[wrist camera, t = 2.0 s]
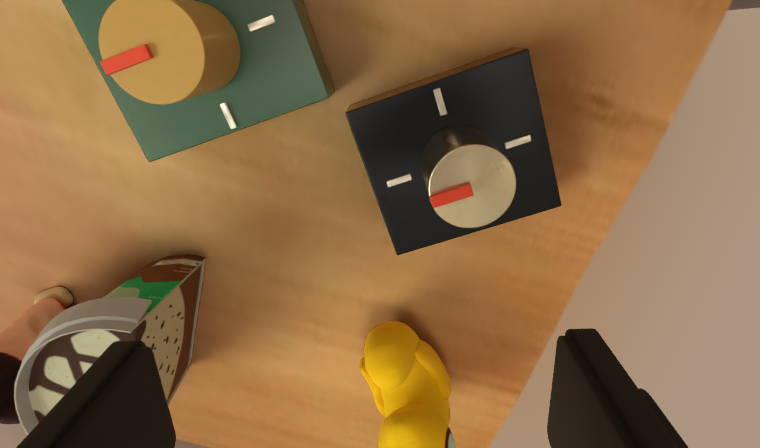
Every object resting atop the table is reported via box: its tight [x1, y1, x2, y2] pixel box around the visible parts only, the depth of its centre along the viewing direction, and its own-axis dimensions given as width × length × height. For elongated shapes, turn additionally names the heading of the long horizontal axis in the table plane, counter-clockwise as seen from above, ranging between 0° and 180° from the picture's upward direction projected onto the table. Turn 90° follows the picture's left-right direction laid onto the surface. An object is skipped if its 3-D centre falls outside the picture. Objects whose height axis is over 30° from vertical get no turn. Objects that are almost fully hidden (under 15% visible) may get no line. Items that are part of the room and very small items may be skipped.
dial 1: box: [99, 0, 241, 105], centre depth 21 cm, size 4×4×5 cm
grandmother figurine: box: [0, 287, 73, 424], centre depth 28 cm, size 8×4×13 cm, turn 52°
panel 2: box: [346, 48, 561, 255], centre depth 27 cm, size 10×9×3 cm
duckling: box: [360, 321, 456, 448], centre depth 30 cm, size 11×5×10 cm, turn 21°
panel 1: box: [62, 0, 335, 162], centre depth 25 cm, size 11×9×3 cm
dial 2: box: [421, 125, 516, 228], centre depth 23 cm, size 4×4×5 cm
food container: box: [14, 255, 206, 436], centre depth 28 cm, size 12×6×10 cm, turn 165°
